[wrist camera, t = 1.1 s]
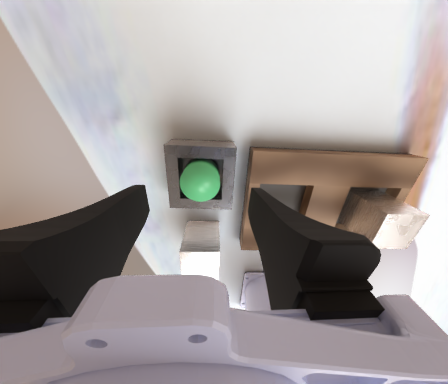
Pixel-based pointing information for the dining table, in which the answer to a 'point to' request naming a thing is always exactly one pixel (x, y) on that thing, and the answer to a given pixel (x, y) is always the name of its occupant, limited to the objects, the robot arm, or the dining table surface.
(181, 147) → the button box
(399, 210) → the block
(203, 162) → the button
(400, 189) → the wooden socket board
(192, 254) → the block
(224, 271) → the dining table surface
